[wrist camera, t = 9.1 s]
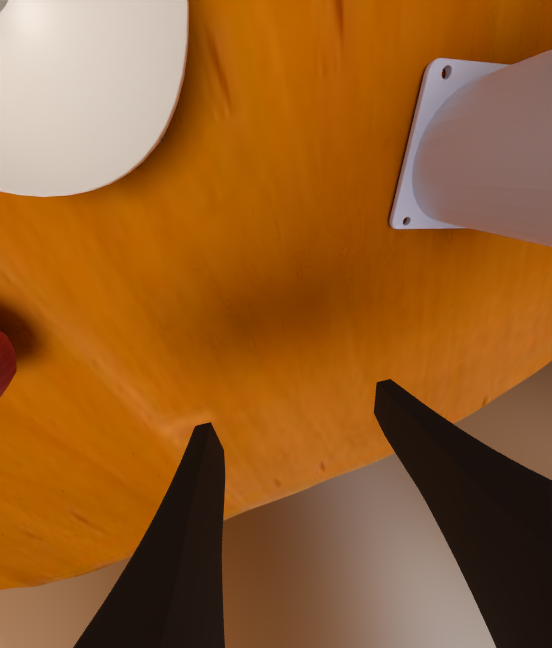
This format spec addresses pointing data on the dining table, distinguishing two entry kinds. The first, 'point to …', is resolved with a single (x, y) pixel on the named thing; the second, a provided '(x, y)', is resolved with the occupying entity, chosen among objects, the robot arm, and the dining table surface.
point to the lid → (85, 89)
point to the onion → (6, 362)
